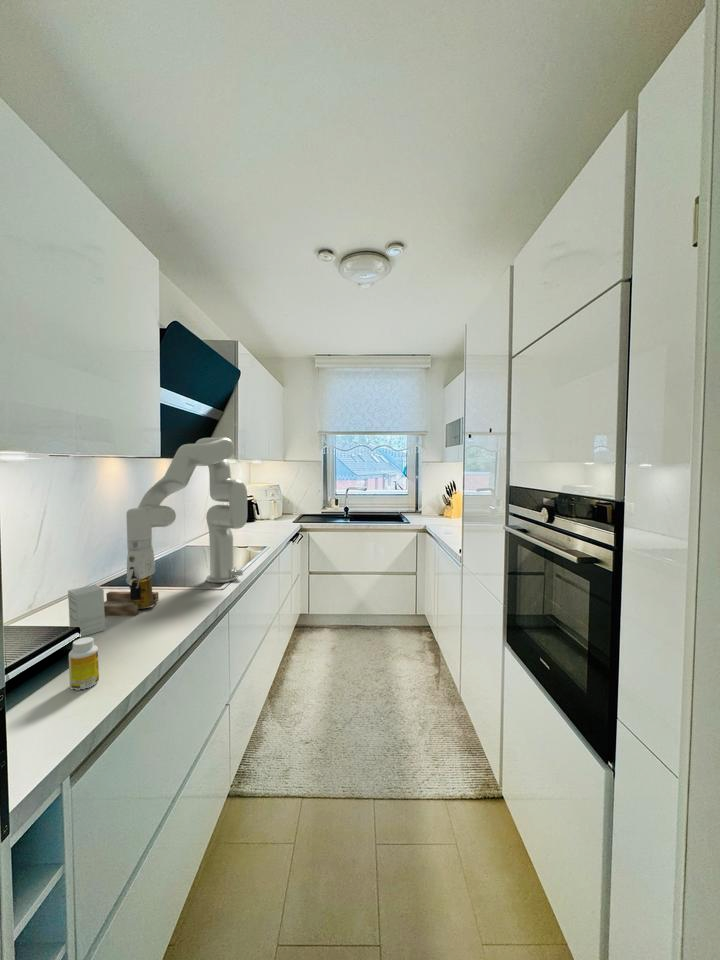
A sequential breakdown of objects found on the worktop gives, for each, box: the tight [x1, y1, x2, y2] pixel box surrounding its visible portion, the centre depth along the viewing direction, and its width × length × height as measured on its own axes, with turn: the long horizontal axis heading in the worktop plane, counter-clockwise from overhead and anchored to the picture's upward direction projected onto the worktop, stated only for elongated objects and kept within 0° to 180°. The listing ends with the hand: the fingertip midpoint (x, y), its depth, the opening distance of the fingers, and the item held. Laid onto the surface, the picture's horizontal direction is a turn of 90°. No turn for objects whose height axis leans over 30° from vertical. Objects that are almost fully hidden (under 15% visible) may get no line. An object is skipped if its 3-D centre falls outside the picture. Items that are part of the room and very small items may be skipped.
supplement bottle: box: [68, 636, 100, 691], centre depth 96 cm, size 6×6×10 cm
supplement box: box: [67, 584, 106, 638], centre depth 125 cm, size 7×7×13 cm
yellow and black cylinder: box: [132, 576, 160, 610], centre depth 146 cm, size 7×8×12 cm
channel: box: [104, 591, 159, 617], centre depth 146 cm, size 18×15×3 cm
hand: (141, 595), depth 145 cm, fingers closed on yellow and black cylinder, 6 cm apart
